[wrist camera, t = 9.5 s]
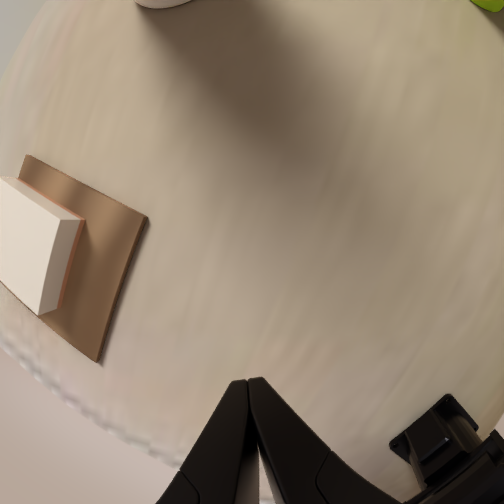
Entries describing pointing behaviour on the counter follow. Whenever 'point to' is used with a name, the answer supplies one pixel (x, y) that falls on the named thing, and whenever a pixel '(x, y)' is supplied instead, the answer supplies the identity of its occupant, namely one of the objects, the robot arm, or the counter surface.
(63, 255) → the white box
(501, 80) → the counter surface
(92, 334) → the board
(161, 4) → the fruit juice
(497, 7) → the soap dispenser
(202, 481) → the robot arm
